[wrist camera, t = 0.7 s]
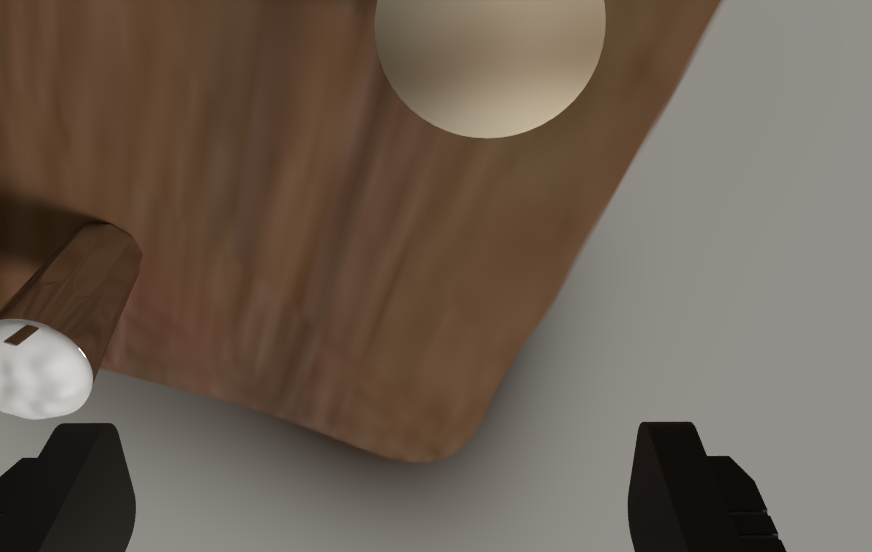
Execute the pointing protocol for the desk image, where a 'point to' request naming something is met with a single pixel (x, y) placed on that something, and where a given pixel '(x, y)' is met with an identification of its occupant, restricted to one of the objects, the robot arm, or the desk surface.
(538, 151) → the desk surface
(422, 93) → the beech pin
